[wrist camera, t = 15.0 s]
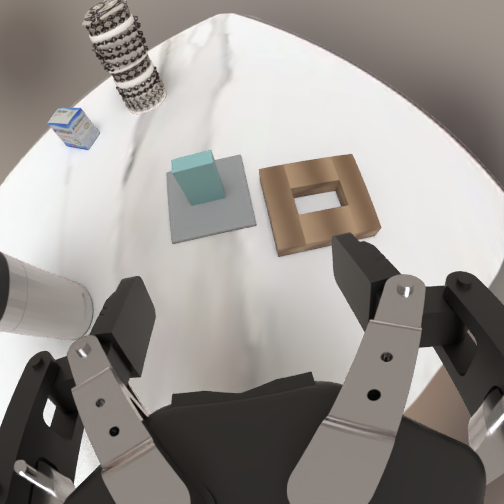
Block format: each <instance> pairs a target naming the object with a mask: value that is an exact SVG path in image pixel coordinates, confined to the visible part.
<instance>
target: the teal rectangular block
mask: <svg viewBox="0 0 504 504" xmlns="http://www.w3.org/2000/svg"><path fill="white" fill-rule="evenodd" d="M171 162H172V174H173V175H174V177H175V179H176V180H177V182H178V184H179V185H180V187H181V189H182V190H183V192H184V194H185V195H186V197H187V199H188V200H189V202H190V204H191V205H192V206H194V205H198V204H202V203H206V202H210V201H215V200H219V199H224V198H225V193H224V187H223V184H222V181H221V178H220V175H219V172H218V169H217V166H216V163H215V160H214V157H213V154H212V151H211V150H208V151H204V152H200V153H196V154H192V155H188V156H184V157H181V158H177V159H173V160H171Z"/></svg>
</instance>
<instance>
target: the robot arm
mask: <svg viewBox="0 0 504 504" xmlns="http://www.w3.org/2000/svg"><path fill="white" fill-rule="evenodd" d="M332 255H333V271H334V276H335V280H336V282H337V284H338V286H339V288H340V290H341V291H342V293H343V295H344V296H345V298H346V300H347V302H348V303H349V305H350V307H351V309H352V310H353V312H354V314H355V316H356V317H357V319H358V321H359V323H360V325H361V326H362V328H363V330H364V332H365V334H364V336H363V339H362V341H361V344H360V346H359V349H358V351H357V354H356V356H355V359H354V361H353V363H352V366H351V368H350V370H349V373H348V375H347V377H346V379H345V382H344V384H343V385H342V384H338V383H333V382H325V381H314V378H313V375H312V372H308V373H303V374H299V375H295V376H290V377H285V378H281V379H276V380H274V381H271V382H269V383H266V384H264V385H262V386H259V387H256V388H254V389H251V390H249V391H246V392H243V393H223V392H212V391H199V392H189V393H179V394H172V403H171V405H168V406H165V407H163V408H161V409H159V410H157V411H155V412H154V413H152V414H151V415H150V414H149V413H148V412H147V410H146V409H145V407H144V406H143V404H142V403H141V401H140V400H139V398H138V397H137V395H136V393H135V392H134V390H133V389H132V387H131V386H130V385H129V383H128V381H129V378H136V377H141V374H142V369H143V365H144V361H145V357H146V353H147V349H148V345H149V341H150V337H151V333H152V330H153V326H154V322H155V318H156V315H155V308H154V305H153V303H152V301H151V299H150V296H149V294H148V292H147V290H146V287H145V285H144V283H143V281H142V279H141V277H139V276H135V277H130V278H125V279H122V280H121V282H120V284H119V286H118V288H117V290H116V292H114V293H113V294H112V295H111V296H110V297H109V298H108V299H107V300H106V302H105V304H104V306H103V310H101V312H100V314H99V316H98V318H97V320H96V322H95V324H94V326H93V328H92V330H91V332H90V334H89V335H88V336H84V337H82V336H83V335H84V334H85V333H86V332H87V330H88V328H89V326H90V324H91V321H92V315H93V306H92V301H91V298H90V295H89V293H88V291H87V290H86V289H85V288H84V287H83V286H82V285H80V284H78V283H75V282H73V281H70V280H67V279H65V278H63V277H60V276H57V275H55V274H52V273H50V272H47V271H45V270H42V269H40V268H37V267H35V266H32V265H30V264H28V263H25V262H23V261H21V260H18V259H16V258H13V257H11V256H9V255H7V254H4V253H2V252H0V331H2V332H9V333H16V334H23V335H31V336H39V337H47V338H56V339H67V340H76V339H78V338H79V339H78V340H76V341H75V342H74V343H73V344H72V345H71V346H70V348H69V350H68V353H67V356H66V357H63V358H60V359H57V360H55V359H54V358H53V357H52V355H51V354H50V353H49V352H48V351H42V352H39V353H37V354H35V355H34V356H33V357H32V358H31V359H30V360H29V362H28V363H27V365H26V367H25V369H24V371H23V373H22V376H21V378H20V380H19V382H18V384H17V387H16V389H15V391H14V394H13V396H12V398H11V401H10V403H9V406H8V408H7V411H6V413H5V416H4V419H3V421H2V424H1V427H0V504H484V496H485V489H486V485H487V484H488V483H490V482H491V481H493V480H494V479H496V478H497V477H499V476H500V475H502V474H503V473H504V305H503V304H502V303H501V302H500V301H499V300H498V299H497V298H496V297H495V296H494V294H493V293H492V292H491V291H490V290H489V289H488V288H487V287H486V286H485V285H484V284H483V283H482V282H481V281H480V280H479V279H478V278H477V277H476V276H474V275H472V274H470V273H467V272H463V271H457V272H453V273H450V274H449V275H448V276H447V278H446V282H445V286H431V287H425V284H424V283H423V282H422V281H421V280H420V279H419V278H417V277H415V276H412V275H406V274H401V273H400V272H399V271H398V270H397V269H396V268H395V267H394V266H393V265H392V264H391V263H390V262H389V261H388V259H386V258H385V256H384V255H383V254H382V253H380V251H379V250H378V249H377V248H376V247H375V246H374V245H372V244H370V243H367V242H365V241H362V242H359V241H358V240H357V239H356V237H355V236H354V235H353V234H352V233H351V232H348V233H343V234H338V235H333V236H332ZM468 329H469V330H470V332H471V333H472V334H473V336H474V337H475V339H476V341H477V345H476V344H475V342H474V341H473V340H472V338H471V337H470V336H469V334H468V333H467V331H468ZM80 337H81V338H80ZM421 347H433V348H434V349H435V351H436V353H437V354H438V356H439V358H440V359H441V361H442V363H443V365H444V366H445V368H446V370H447V371H448V373H449V375H450V377H451V379H452V380H453V382H454V384H455V386H456V388H457V390H458V391H459V393H460V395H461V397H462V399H463V401H464V403H465V405H466V407H467V409H468V411H469V413H470V415H471V417H472V418H471V419H470V422H469V425H468V434H469V444H470V447H469V446H468V445H466V444H464V443H462V442H460V441H458V440H455V439H453V438H451V437H449V436H447V435H444V434H442V433H440V432H438V431H436V430H433V429H431V428H429V427H427V426H425V425H423V424H421V423H418V422H417V421H414V420H413V419H411V418H408V417H406V416H404V415H403V412H404V408H405V405H406V401H407V397H408V394H409V390H410V386H411V382H412V377H413V373H414V369H415V364H416V359H417V354H418V349H419V348H421ZM48 398H49V399H50V401H51V402H52V403H53V404H54V405H55V406H56V409H55V413H54V416H53V419H52V423H51V426H50V427H49V426H48V425H47V424H46V423H45V421H44V419H43V411H44V408H45V405H46V402H47V399H48ZM84 428H85V430H86V433H87V435H88V437H89V440H90V442H91V444H92V447H93V449H94V451H95V453H96V455H97V458H98V460H99V462H100V465H99V466H98V467H97V468H96V469H95V470H94V471H93V472H92V473H91V474H90V475H89V476H88V477H87V478H86V479H85V480H84V481H83V482H82V483H81V484H80V485H79V486H78V487H77V488H76V489H75V486H74V479H75V472H76V466H77V460H78V455H79V450H80V444H81V439H82V435H83V430H84Z"/></svg>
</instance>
